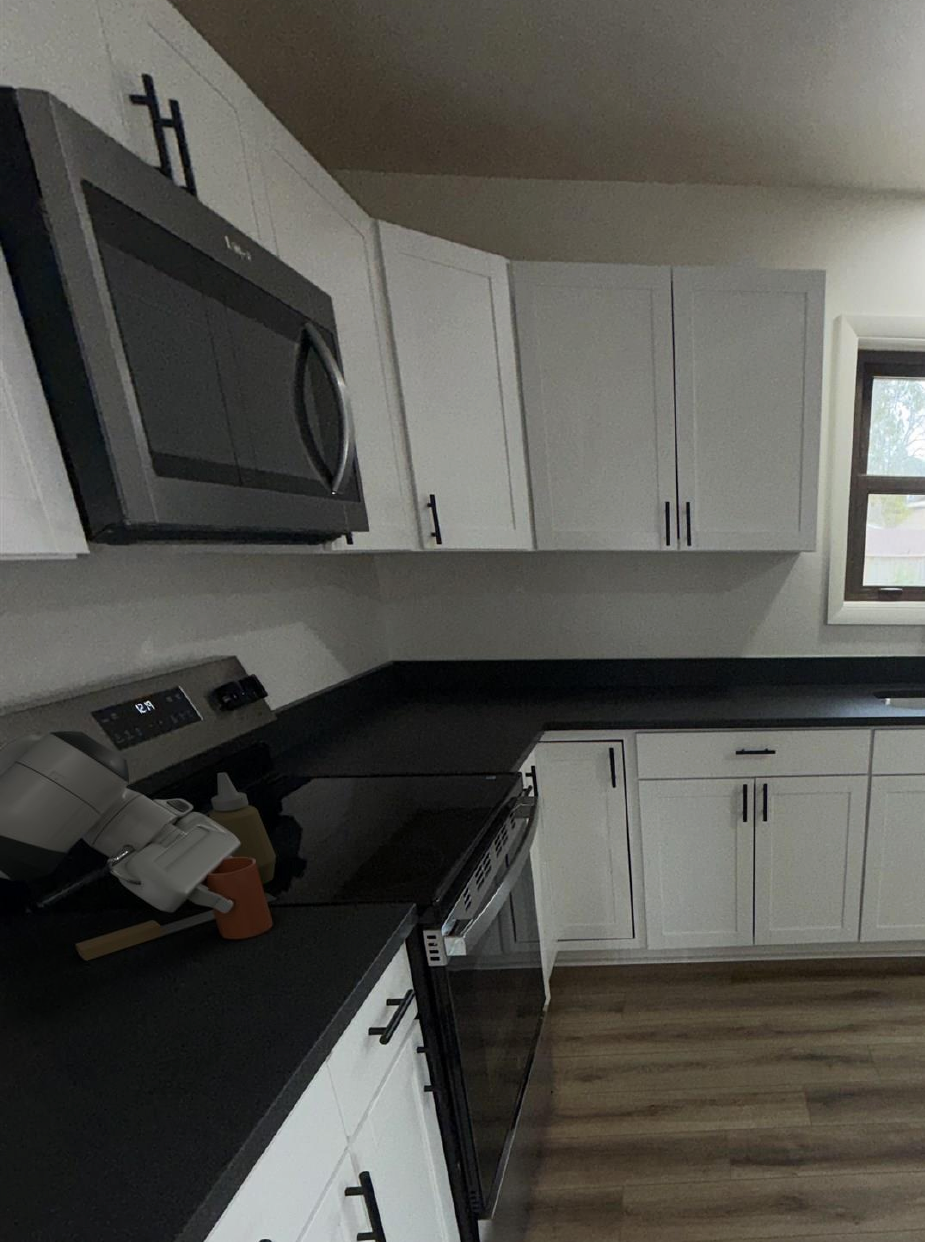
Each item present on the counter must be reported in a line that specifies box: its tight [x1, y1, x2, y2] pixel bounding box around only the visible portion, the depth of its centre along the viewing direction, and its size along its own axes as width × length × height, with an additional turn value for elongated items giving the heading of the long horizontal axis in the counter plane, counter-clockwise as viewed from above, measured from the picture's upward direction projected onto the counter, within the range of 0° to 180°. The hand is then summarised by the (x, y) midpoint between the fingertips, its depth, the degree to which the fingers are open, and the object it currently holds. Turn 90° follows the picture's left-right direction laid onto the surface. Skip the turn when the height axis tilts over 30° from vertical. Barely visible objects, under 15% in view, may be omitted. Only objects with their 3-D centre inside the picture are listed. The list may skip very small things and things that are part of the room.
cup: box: [204, 857, 274, 940], centre depth 110 cm, size 6×6×10 cm
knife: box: [75, 892, 277, 962], centre depth 113 cm, size 24×3×2 cm, turn 142°
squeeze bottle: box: [208, 771, 277, 885], centre depth 123 cm, size 8×8×18 cm
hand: (242, 895), depth 110 cm, fingers closed on cup, 6 cm apart
